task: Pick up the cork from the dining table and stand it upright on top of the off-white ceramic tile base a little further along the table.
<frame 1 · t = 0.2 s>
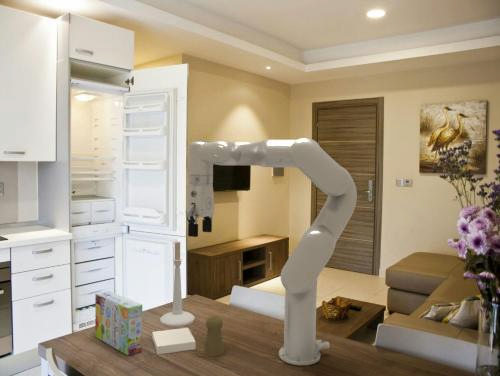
hand: (200, 234, 135), 36 cm above the table, tool pointing down, fingers open, 9 cm apart
tile base: (173, 344, 137), on the table
snack box: (117, 344, 137), on the table
candlestick: (177, 320, 159), on the table
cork: (214, 353, 131), on the table
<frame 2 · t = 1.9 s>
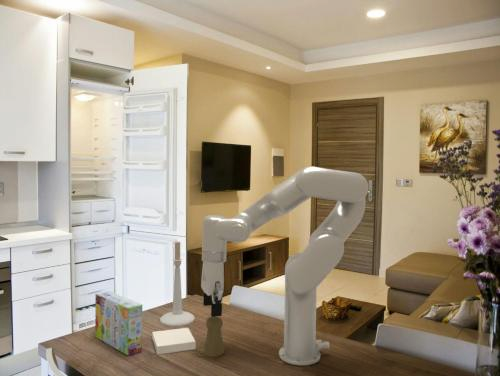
hand: (212, 310, 131), 13 cm above the table, tool pointing down, fingers open, 9 cm apart
nothing on the table moved.
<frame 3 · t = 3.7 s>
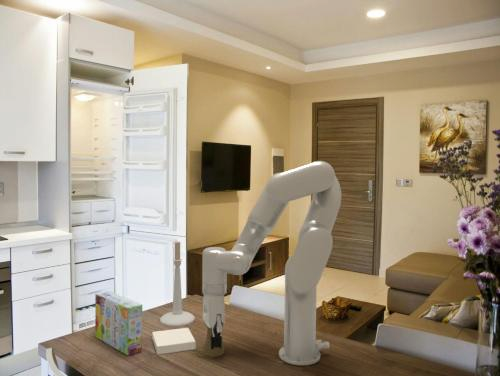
hand: (214, 345, 131), 2 cm above the table, tool pointing down, fingers closed on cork, 3 cm apart
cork: (214, 353, 131), on the table, touching gripper
everything else where it was.
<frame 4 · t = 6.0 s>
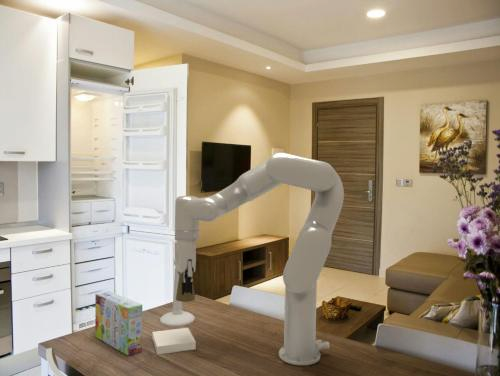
hand: (185, 291, 134), 18 cm above the table, tool pointing down, fingers closed on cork, 3 cm apart
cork: (185, 299, 134), point 15 cm above the table, touching gripper
everything else where it was.
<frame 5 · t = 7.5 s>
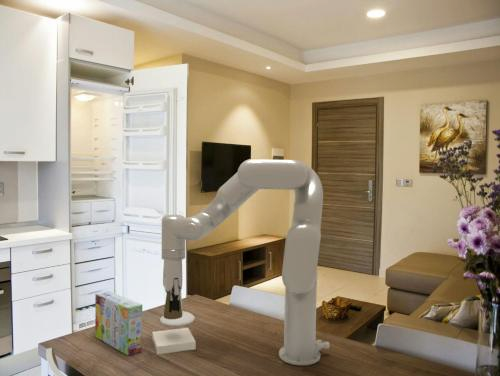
hand: (173, 309, 136), 12 cm above the table, tool pointing down, fingers closed on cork, 3 cm apart
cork: (173, 316, 137), point 9 cm above the table, touching gripper
everything else where it was.
when the fingers open (6 cm above the table, at t = 8.7 s): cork drops 1 cm, resting on tile base.
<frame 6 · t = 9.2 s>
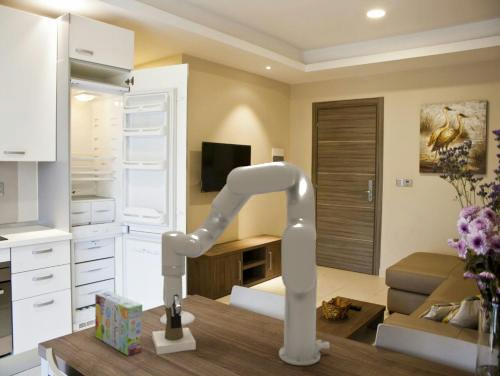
hand: (173, 322, 137), 7 cm above the table, tool pointing down, fingers open, 8 cm apart
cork: (174, 337, 137), point 2 cm above the table, touching tile base
everything else where it was.
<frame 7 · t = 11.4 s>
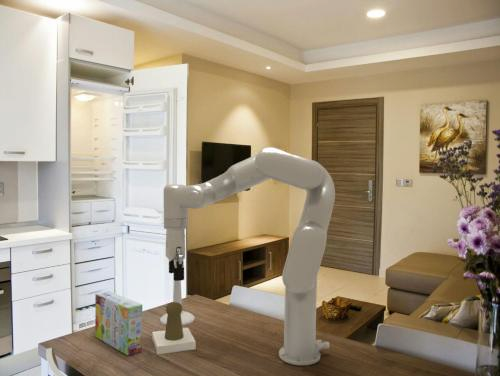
hand: (176, 276, 135), 22 cm above the table, tool pointing down, fingers open, 9 cm apart
nothing on the table moved.
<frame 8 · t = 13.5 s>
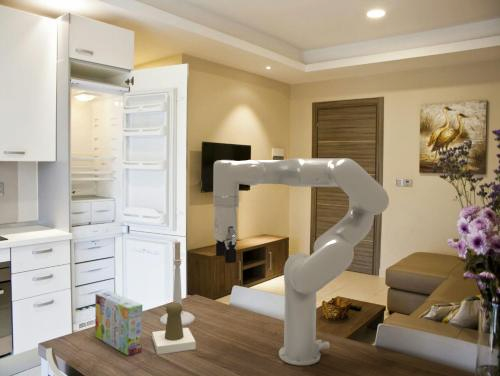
hand: (225, 259, 126), 30 cm above the table, tool pointing down, fingers open, 9 cm apart
nothing on the table moved.
at the end: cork 0.3 cm off-centre on the tile base, point 2.3 cm above the tile base's base; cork tilted 0°; the gripper is holding nothing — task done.
